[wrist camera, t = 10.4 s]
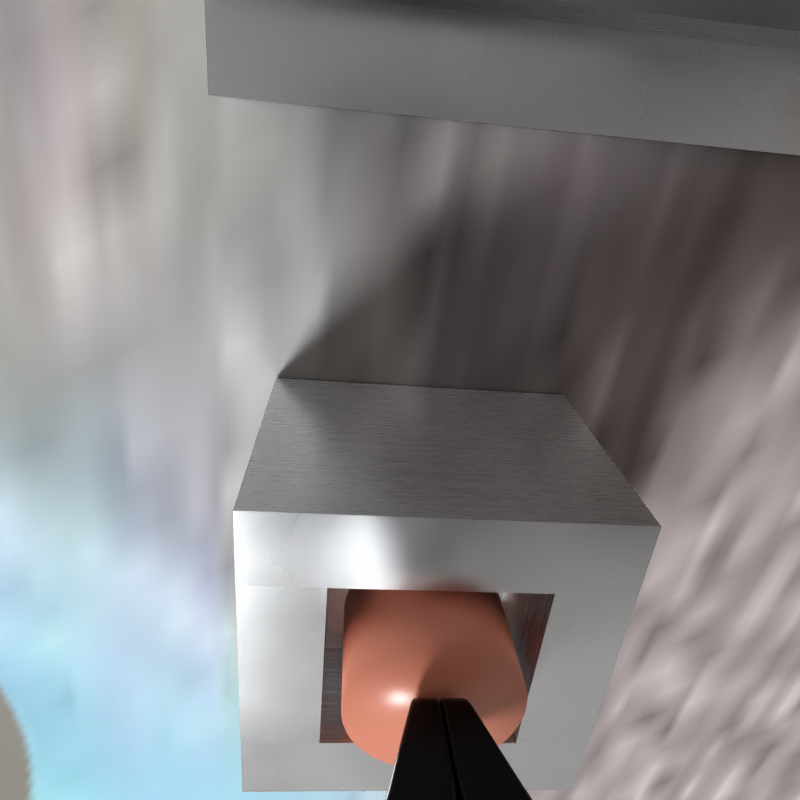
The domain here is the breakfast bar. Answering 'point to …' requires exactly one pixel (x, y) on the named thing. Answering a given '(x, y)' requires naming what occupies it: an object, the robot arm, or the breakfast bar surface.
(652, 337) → the breakfast bar surface
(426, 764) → the robot arm
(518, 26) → the rail
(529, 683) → the cabinet
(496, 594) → the button
